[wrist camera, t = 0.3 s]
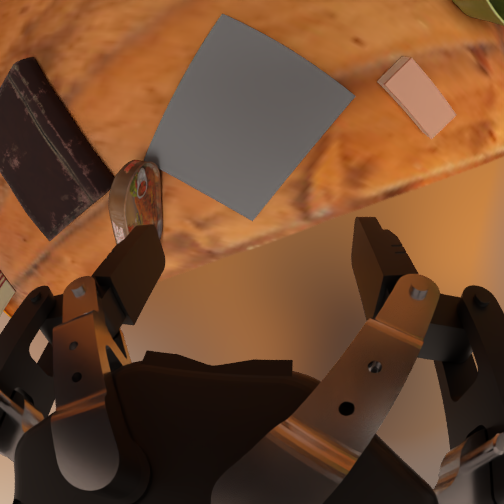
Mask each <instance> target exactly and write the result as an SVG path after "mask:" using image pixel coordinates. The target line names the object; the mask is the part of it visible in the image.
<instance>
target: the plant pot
mask: <svg viewBox="0 0 504 504" xmlns="http://www.w3.org/2000/svg"><path fill="white" fill-rule="evenodd" d="M452 1H453V2H454V3H455V4H456V5H457V6H458V7H459V8H460V9H461V10H462V11H463V13H465V14H466V15H468V16H470V17H472V18H477V19H481V20H485V21H489V22H493V23H496V24H500V25H503V26H504V0H452Z"/></svg>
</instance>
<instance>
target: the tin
mask: <svg viewBox="0 0 504 504" xmlns="http://www.w3.org/2000/svg"><path fill="white" fill-rule="evenodd" d="M109 214H110V219H111V223H112V228H113V232H114V236H115V240H116V244H118V243H119V242H121V241H122V240H124V239H125V238H126V237H127V235H128V234H129V233H130V232H131V231H132V230H133V228H134V227H135V226H137V225H148V224H153V225H154V226H155V227H156V229H157V232H158V235H159V239H161V234H162V226H163V220H162V204H161V182H160V172H159V169H158V167H157V165H156V164H155V163H154V162H150V161H149V162H146V161H140V160H132V161H130V162H128V163H127V164H126V165H124V167H123V168H122V169H121V170H120V171H119V172H118V173H117V175H116V176H115V178H114V180H113V183H112V186H111V189H110V194H109Z"/></svg>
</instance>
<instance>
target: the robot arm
mask: <svg viewBox="0 0 504 504" xmlns="http://www.w3.org/2000/svg"><path fill="white" fill-rule="evenodd" d="M351 259H352V268H353V271H354V275H355V278H356V282H357V286H358V289H359V293H360V297H361V301H362V304H363V309H364V313H365V317H366V320H367V322H366V323H365V325H364V326H363V327H362V329H361V331H360V332H359V333H358V335H357V336H356V337H355V339H354V340H353V341H352V343H351V344H350V346H349V347H348V348H347V350H346V351H345V352H344V354H343V355H342V356H341V357H340V359H339V360H338V361H337V363H336V364H335V365H334V366H333V368H332V369H331V370H330V371H329V373H328V374H327V375H326V376H325V378H324V379H323V380H322V381H319V380H317V379H315V378H313V377H311V376H308V375H305V374H302V373H299V372H294V371H292V362H293V361H292V360H249V361H242V362H236V363H230V364H224V365H217V366H211V365H207V364H204V363H201V362H198V361H195V360H192V359H190V358H187V357H184V356H181V355H178V354H169V353H161V352H154V351H146V354H145V356H144V359H143V361H139V362H133V363H132V361H131V358H130V355H129V352H128V348H127V345H126V341H125V338H124V334H123V332H122V330H121V328H120V327H121V325H122V324H128V325H135V323H136V321H137V319H138V317H139V315H140V313H141V311H142V309H143V307H144V305H145V303H146V301H147V300H148V297H149V296H150V294H151V292H152V290H153V288H154V287H155V285H156V283H157V281H158V279H159V277H160V276H161V274H162V272H163V270H164V268H165V255H164V252H163V249H162V245H161V242H160V239H159V235H158V232H157V229H156V227H155V226H154V225H153V224H148V225H137V226H135V227H134V228H133V230H132V231H131V232H130V233H129V234H128V235H127V237H126V238H125V239H124V240H122V241H121V242H119V243H118V244H117V245H116V246H115V247H114V249H113V250H112V252H111V253H109V255H108V256H107V259H105V260H104V261H103V262H102V263H101V265H100V266H99V267H98V268H97V270H96V271H95V272H94V273H93V275H92V276H91V277H90V276H84V277H81V278H78V279H76V280H74V281H73V282H71V283H70V284H69V285H68V286H67V287H66V289H65V291H64V293H63V294H61V295H56V296H53V294H52V292H51V290H50V289H49V287H48V286H40V287H38V288H36V289H34V290H33V291H32V292H30V293H29V294H28V296H27V297H26V298H25V299H24V301H23V302H22V304H21V305H20V306H19V308H18V309H17V310H16V312H15V313H14V315H13V316H12V318H11V319H10V320H9V322H8V324H7V325H6V326H5V328H4V330H3V331H2V332H1V334H0V454H2V455H3V456H6V457H8V458H9V459H10V460H12V461H13V462H14V469H15V470H14V471H15V493H14V494H15V495H14V501H13V504H504V313H503V311H502V309H501V307H500V305H499V304H498V302H497V300H496V298H495V297H494V296H493V295H492V293H491V292H489V291H488V290H487V289H485V288H483V287H480V286H468V287H466V288H465V290H464V291H463V294H462V296H461V298H460V297H454V296H449V295H444V294H440V291H439V288H438V286H437V285H436V284H435V283H434V282H433V281H432V280H431V279H429V278H427V277H425V276H423V275H419V274H418V272H417V270H416V269H415V267H414V265H413V263H412V261H411V259H410V258H409V256H408V254H407V253H406V251H405V249H404V247H402V244H401V242H400V240H399V239H398V237H397V236H396V235H395V234H393V233H392V232H391V231H389V230H383V229H382V228H381V226H380V224H379V222H378V221H377V219H376V218H375V217H356V219H355V224H354V235H353V245H352V254H351ZM39 329H40V330H41V331H42V333H43V334H44V335H45V337H46V338H47V340H48V341H49V342H48V344H47V346H46V348H45V350H44V351H43V354H42V355H41V357H40V359H39V361H38V363H36V362H35V361H34V360H33V359H32V358H31V356H30V353H29V346H30V343H31V342H32V340H33V339H34V337H35V335H36V334H37V332H38V331H39ZM472 352H473V354H474V356H475V359H476V362H477V365H478V371H477V368H476V365H475V362H474V359H473V356H472ZM417 357H418V358H424V359H430V360H434V364H435V368H436V372H437V376H438V380H439V385H440V389H441V393H442V399H443V404H444V409H445V415H446V421H447V428H448V435H449V443H450V451H449V452H448V453H447V454H446V455H445V457H444V458H443V460H442V463H441V466H440V472H439V479H438V482H437V484H436V486H435V488H434V489H432V488H431V487H430V486H429V484H427V482H426V481H425V480H423V479H422V478H421V477H420V476H419V475H418V474H417V473H416V472H415V471H414V470H413V469H412V468H411V467H410V466H408V465H407V464H406V463H405V462H404V461H403V460H402V459H401V458H400V457H399V456H398V455H397V454H396V453H395V452H394V451H393V450H392V449H391V448H390V447H389V446H388V445H387V444H386V443H385V442H384V441H382V439H380V437H378V435H377V434H376V432H377V430H378V428H379V427H380V425H381V424H382V422H383V420H384V419H385V417H386V415H387V414H388V412H389V411H390V409H391V407H392V405H393V404H394V402H395V400H396V398H397V396H398V395H399V393H400V391H401V389H402V387H403V385H404V383H405V381H406V379H407V377H408V375H409V373H410V371H411V369H412V367H413V365H414V363H415V361H416V359H417ZM54 400H55V403H56V411H55V412H54V413H52V414H51V415H49V416H48V414H49V412H50V410H51V407H52V405H53V402H54Z"/></svg>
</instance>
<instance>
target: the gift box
mask: <svg viewBox="0 0 504 504" xmlns="http://www.w3.org/2000/svg"><path fill="white" fill-rule="evenodd" d="M14 293H15V290H14V289H13V287H12V286H11V285H10V283H9V282H8V281H7V280H6V278H5V277H4V275H3V274H2V273H1V271H0V315H1V314H2V312H3V310H4V309H5V307H6V305H7V304H8V302H9V301H10V299H11V298H12V296H13V295H14Z"/></svg>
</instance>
